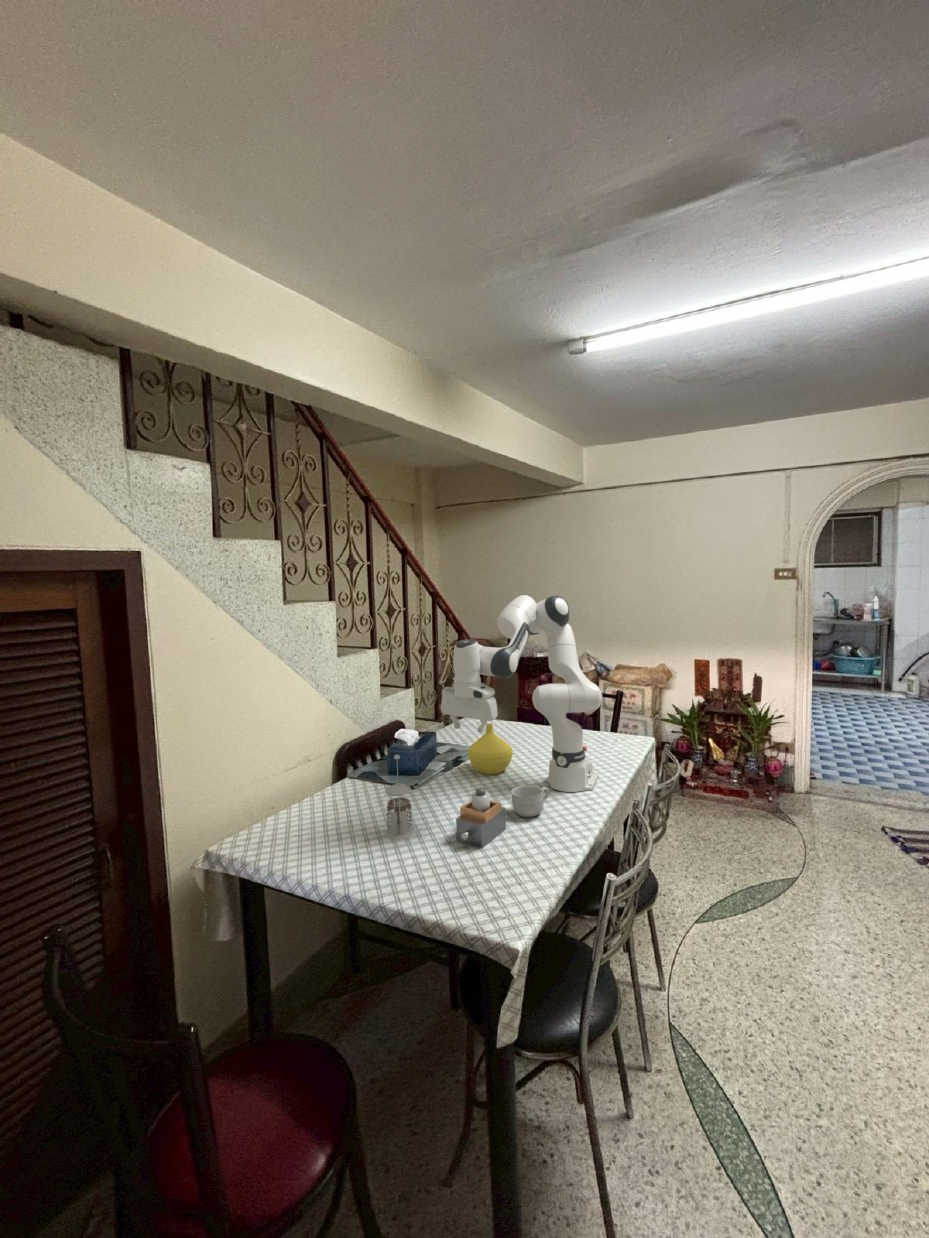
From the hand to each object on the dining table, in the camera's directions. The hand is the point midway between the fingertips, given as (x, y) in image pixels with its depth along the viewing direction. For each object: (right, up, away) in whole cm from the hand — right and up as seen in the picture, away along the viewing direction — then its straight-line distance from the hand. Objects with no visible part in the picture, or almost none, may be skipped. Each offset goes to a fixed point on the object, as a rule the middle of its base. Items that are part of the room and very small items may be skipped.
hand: (469, 730), depth 179 cm
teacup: (+21, -29, +3) cm, 36 cm away
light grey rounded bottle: (+4, -23, -12) cm, 26 cm away
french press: (-22, -31, -8) cm, 39 cm away
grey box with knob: (+3, -30, -13) cm, 33 cm away
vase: (+9, -26, +44) cm, 52 cm away
